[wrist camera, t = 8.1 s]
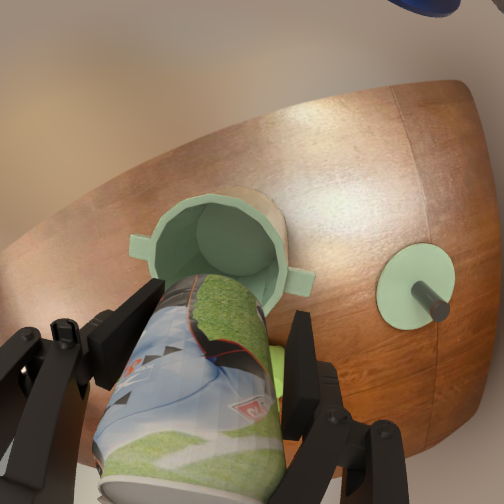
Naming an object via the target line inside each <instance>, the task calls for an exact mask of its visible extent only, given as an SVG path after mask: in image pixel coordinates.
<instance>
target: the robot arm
mask: <svg viewBox="0 0 504 504" xmlns="http://www.w3.org/2000/svg"><path fill="white" fill-rule="evenodd" d="M492 1H493V2H494V4H495V5H496V6H497V7H498V9H499V10H500V11H501V12H502V13H504V0H492ZM164 293H165V280H161V279H157V278H152V279H151V280H150V281H149V282H148V283H146V284H145V285H144V286H143V287H142V288H141V289H139V290H138V291H137V292H136V293H135V294H134V295H132V296H131V297H130V298H129V299H128V300H127V301H126V302H124V303H123V304H122V305H121V306H120V307H119V308H118V309H116V310H115V311H111V310H109V309H108V310H105V311H103V312H100V313H99V314H98V315H96V316H95V317H94V319H92V320H90V321H89V323H87V324H86V325H85V326H83V327H82V328H81V329H80V330H79V327H78V324H77V322H75V321H74V320H71V319H66V318H62V319H57V320H55V321H54V322H52V323H51V324H50V327H51V331H52V336H53V341H52V340H47V339H43V338H41V334H40V332H39V330H38V329H36V328H34V327H24V328H21V329H20V330H18V331H17V332H16V333H15V334H14V335H13V336H12V337H11V338H10V339H9V340H8V341H7V342H6V343H4V344H3V345H2V346H1V347H0V461H1V459H2V457H3V456H4V453H5V452H6V450H7V448H8V447H9V445H10V444H11V442H12V440H13V439H14V441H13V445H12V449H11V452H10V456H9V460H8V464H7V468H6V472H5V474H4V475H3V476H0V504H73V503H74V487H75V476H76V467H77V458H78V451H79V444H80V438H81V432H82V426H83V420H84V415H85V410H86V405H87V401H88V396H89V392H90V383H89V381H90V380H91V378H92V377H93V376H94V379H95V384H96V385H97V386H100V387H102V388H104V389H106V390H108V391H110V390H111V389H112V387H113V386H114V385H115V383H116V382H117V381H118V379H119V378H120V377H121V375H122V373H123V371H124V369H125V367H126V365H127V363H128V361H129V359H130V357H131V355H132V353H133V351H134V349H135V347H136V345H137V343H138V341H139V339H140V337H141V335H142V333H143V331H144V329H145V327H146V325H147V324H148V322H149V320H150V318H151V316H152V314H153V312H154V310H155V308H156V307H157V305H158V303H159V301H160V299H161V297H162V296H163V295H164ZM24 366H25V369H26V371H25V372H24V373H22V371H21V370H22V369H23V368H24ZM281 432H282V439H284V440H292V441H299V439H300V437H301V436H302V444H301V446H300V447H299V449H298V451H297V452H296V454H295V456H294V458H293V460H292V461H291V463H290V465H289V467H288V468H287V472H286V474H285V476H284V478H283V479H282V481H281V483H280V484H279V486H278V487H277V489H276V490H275V492H274V493H273V495H272V496H271V498H270V499H269V501H268V503H267V504H320V502H321V501H322V498H323V496H324V494H325V492H326V490H327V487H328V485H329V483H330V480H331V478H332V476H333V473H334V471H335V468H336V466H337V465H338V466H341V467H343V472H342V486H341V498H340V504H409V494H408V483H407V474H406V465H405V458H404V450H403V444H402V437H401V432H400V430H399V428H398V427H397V426H396V424H394V423H393V422H391V421H388V420H378V421H375V422H374V423H373V424H372V425H371V426H370V425H366V424H363V423H360V422H357V421H355V420H353V419H352V416H351V414H350V413H349V412H348V411H347V410H346V409H345V408H344V407H343V402H342V396H341V391H340V386H339V381H338V376H337V371H336V369H335V368H334V366H333V365H332V364H331V363H329V362H322V361H316V355H315V347H314V339H313V332H312V325H311V317H310V313H309V312H304V311H299V310H296V313H295V316H294V320H293V323H292V327H291V330H290V333H289V337H288V340H287V343H286V347H285V351H284V378H283V400H282V418H281ZM14 437H15V438H14Z"/></svg>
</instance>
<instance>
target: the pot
mask: <svg viewBox="0 0 504 504" xmlns="http://www.w3.org/2000/svg"><path fill="white" fill-rule="evenodd" d="M129 256H130V257H134V258H138V259H142V260H146V261H148V268H149V271H150V274H151V277H152V278H157V279H161V280H165V292H166V290H167V289H169V288H170V287H171V286H172V285H173V284H174V283H176V282H178V281H179V280H181V279H184V278H186V277H189V276H193V275H198V274H215V275H221V276H225V277H228V278H231V279H233V280H235V281H237V282H239V283H241V284H242V285H244V286H245V287H246V288H248V289H249V290H250V291H251V292H252V293H253V294H254V295H255V297H256V298H257V299H258V301H259V302H260V304H261V307H262V309H263V311H264V316H265V317H266V316H267V315H268V313H269V312H270V311H271V310H272V308H273V307H274V306H275V305H276V303H277V302H278V301H279V300H280V298H281V297H282V294H283V292H284V293H289V294H294V295H299V296H304V297H310V294H311V290H312V287H313V283H314V280H315V272H312V271H308V270H303V269H298V268H293V267H289V266H288V235H287V230H286V224H285V219H284V216H283V215H282V213H281V212H280V210H279V208H278V207H277V206H276V204H275V203H274V201H273V200H271V199H270V198H269V197H267V196H266V195H264V194H263V193H261V192H259V191H258V190H256V189H251V188H247V187H240V186H234V187H229V188H225V189H221V190H216V191H213V192H209V193H205V194H202V195H198V196H195V197H191V198H188V199H184V200H182V201H181V202H179V203H178V204H177V205H175V206H174V207H173V208H172V209H170V210H169V211H168V212H167V213H165V214H164V215H163V216H162V217H161V219H160V221H159V222H158V224H157V226H156V228H155V230H154V232H153V234H152V236H146V235H142V234H137V233H133V234H131V235H130V247H129Z"/></svg>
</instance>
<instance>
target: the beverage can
mask: <svg viewBox="0 0 504 504" xmlns="http://www.w3.org/2000/svg"><path fill="white" fill-rule="evenodd" d="M92 453H93V457H94V461H95V464H96V467H97V470H98V472H99V474H100V480H99V483H98V490H99V492H100V493H101V495H102V496H103V497H104V498H105V499H107V500H108V501H109V502H110V503H112V504H267V503H268V501H269V499H270V498H271V496H272V495H273V493H274V492H275V490H276V489H277V487H278V486H279V484H280V483H281V481H282V479H283V478H284V476H285V474H286V472H287V468H286V461H285V453H284V446H283V439H282V432H281V425H280V418H279V411H278V404H277V397H276V390H275V383H274V376H273V369H272V362H271V355H270V348H269V342H268V335H267V328H266V321H265V316H264V311H263V309H262V307H261V304H260V302H259V301H258V299H257V298H256V297H255V295H254V294H253V293H252V292H251V291H250V290H249V289H248V288H246V287H245V286H244V285H242V284H241V283H239V282H237V281H235V280H233V279H231V278H228V277H225V276H221V275H215V274H198V275H193V276H189V277H186V278H184V279H181V280H179V281H178V282H176V283H174V284H173V285H172V286H171V287H170V288H169V289H167V290H166V292H165V293H164V295H163V296H162V297H161V299H160V301H159V303H158V305H157V307H156V308H155V310H154V312H153V314H152V316H151V318H150V320H149V322H148V324H147V325H146V327H145V329H144V331H143V333H142V335H141V337H140V339H139V341H138V343H137V345H136V347H135V349H134V351H133V353H132V355H131V357H130V359H129V361H128V363H127V365H126V367H125V369H124V371H123V373H122V375H121V377H120V379H119V382H118V384H117V386H116V388H115V390H114V392H113V394H112V396H111V399H110V401H109V403H108V405H107V407H106V410H105V412H104V414H103V416H102V419H101V421H100V423H99V426H98V428H97V430H96V433H95V435H94V438H93V444H92Z"/></svg>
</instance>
